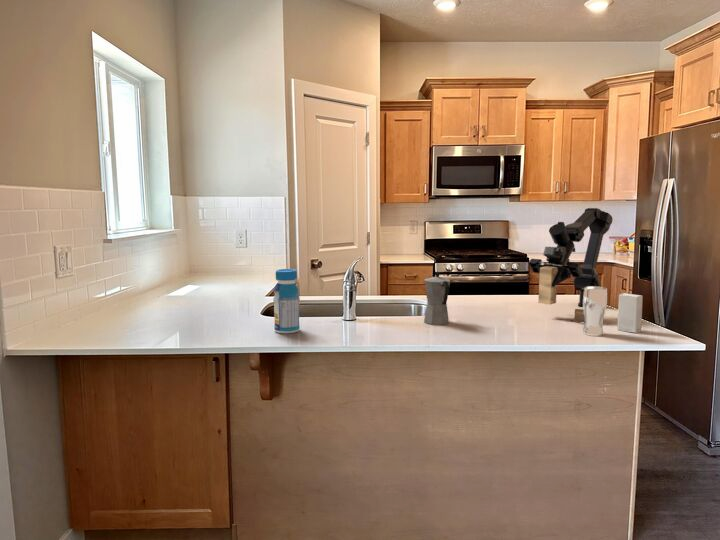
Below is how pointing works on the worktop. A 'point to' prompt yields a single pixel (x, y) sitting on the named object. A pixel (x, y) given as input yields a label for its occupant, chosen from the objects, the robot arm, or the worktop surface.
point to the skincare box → (630, 312)
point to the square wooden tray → (579, 315)
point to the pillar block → (547, 285)
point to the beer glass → (594, 309)
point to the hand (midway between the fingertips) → (546, 285)
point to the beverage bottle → (286, 302)
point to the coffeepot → (436, 300)
